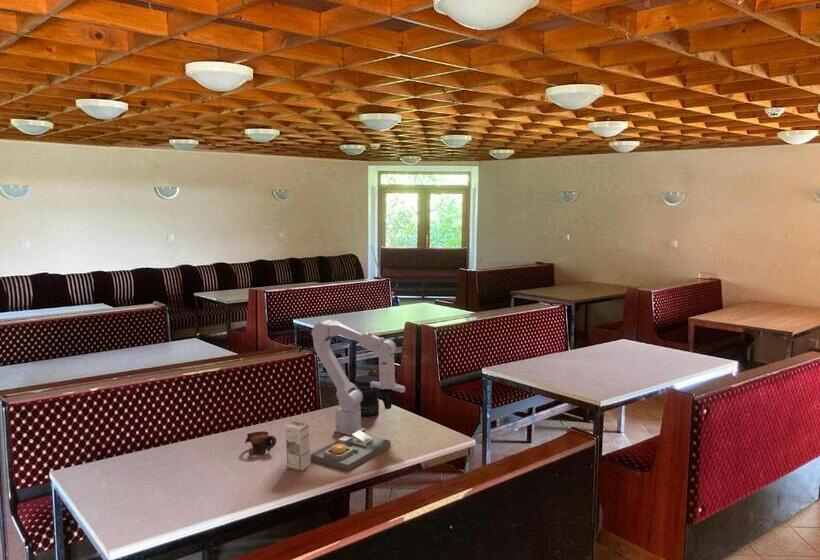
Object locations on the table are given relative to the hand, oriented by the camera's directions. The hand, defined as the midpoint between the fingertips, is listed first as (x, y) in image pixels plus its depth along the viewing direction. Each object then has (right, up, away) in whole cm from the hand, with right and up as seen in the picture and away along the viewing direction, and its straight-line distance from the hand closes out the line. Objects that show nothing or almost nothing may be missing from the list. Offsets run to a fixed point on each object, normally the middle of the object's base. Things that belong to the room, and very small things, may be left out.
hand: (388, 408), depth 225 cm
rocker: (-9, -8, -10) cm, 16 cm away
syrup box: (-29, -14, -25) cm, 41 cm away
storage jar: (-10, -8, +25) cm, 28 cm away
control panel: (-12, -12, -15) cm, 23 cm away
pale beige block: (-15, -10, -13) cm, 22 cm away
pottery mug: (-44, -13, -12) cm, 48 cm away
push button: (-16, -11, -21) cm, 28 cm away
